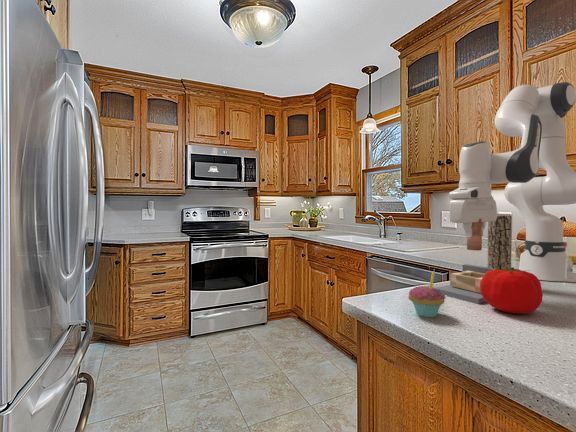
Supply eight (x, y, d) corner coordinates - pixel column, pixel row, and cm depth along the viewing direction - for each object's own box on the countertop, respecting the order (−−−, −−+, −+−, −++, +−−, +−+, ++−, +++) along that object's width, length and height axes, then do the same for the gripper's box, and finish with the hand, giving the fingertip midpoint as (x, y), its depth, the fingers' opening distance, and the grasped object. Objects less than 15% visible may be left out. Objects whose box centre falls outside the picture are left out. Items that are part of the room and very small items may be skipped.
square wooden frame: (468, 282, 105) (468, 270, 105) (500, 288, 96) (500, 276, 96) (450, 286, 100) (450, 273, 100) (482, 293, 91) (482, 279, 91)
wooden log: (515, 288, 103) (515, 214, 103) (492, 287, 105) (493, 214, 104) (505, 283, 110) (505, 213, 109) (484, 283, 111) (484, 213, 111)
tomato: (547, 323, 72) (548, 274, 72) (481, 314, 79) (481, 269, 79) (536, 308, 83) (537, 265, 83) (478, 301, 90) (478, 261, 89)
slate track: (466, 285, 108) (466, 264, 108) (511, 294, 96) (511, 271, 96) (433, 292, 99) (433, 269, 99) (478, 304, 87) (478, 277, 87)
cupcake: (449, 314, 79) (449, 267, 79) (437, 323, 73) (437, 272, 73) (416, 306, 85) (416, 263, 85) (402, 314, 79) (402, 267, 79)
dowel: (471, 248, 101) (471, 218, 101) (484, 249, 97) (484, 218, 97) (464, 249, 99) (464, 218, 99) (477, 250, 95) (477, 218, 95)
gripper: (482, 194, 106) (482, 234, 106) (445, 193, 96) (445, 237, 96) (503, 193, 100) (502, 235, 100) (465, 192, 90) (465, 239, 90)
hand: (474, 236), depth 98 cm, fingers closed on dowel, 4 cm apart
